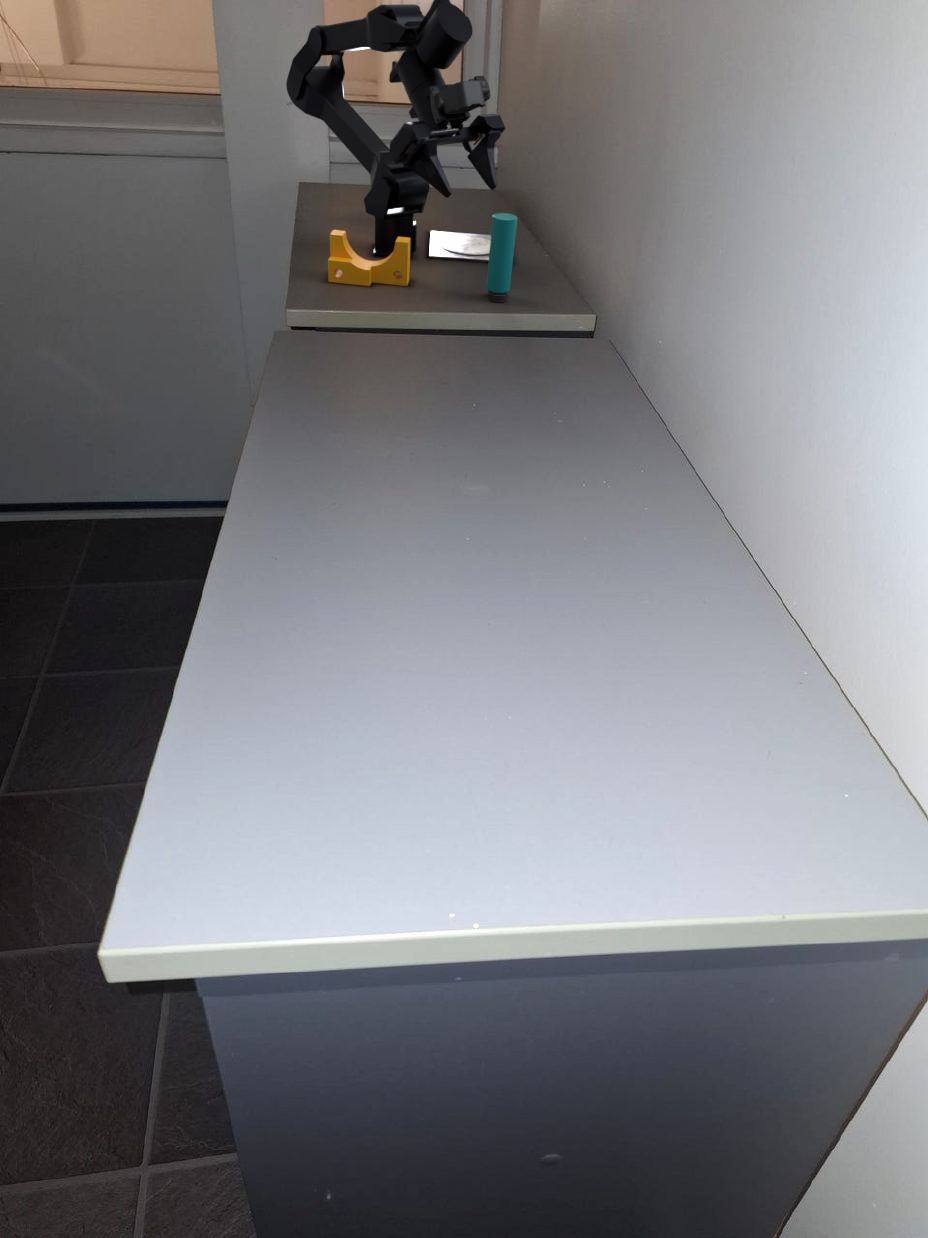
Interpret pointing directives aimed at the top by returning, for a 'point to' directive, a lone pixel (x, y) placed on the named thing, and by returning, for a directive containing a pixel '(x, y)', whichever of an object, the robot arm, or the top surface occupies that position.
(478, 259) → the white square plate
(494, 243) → the dot marker
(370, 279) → the pipe clamp
